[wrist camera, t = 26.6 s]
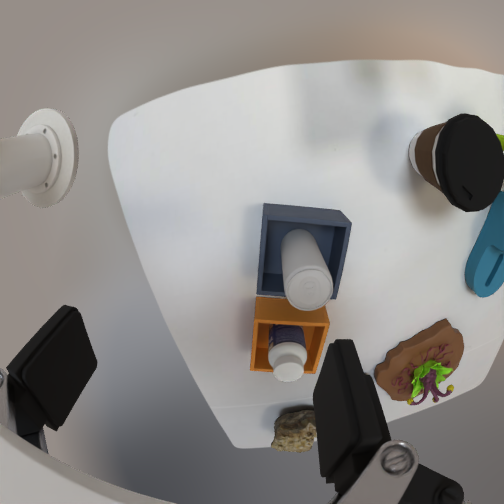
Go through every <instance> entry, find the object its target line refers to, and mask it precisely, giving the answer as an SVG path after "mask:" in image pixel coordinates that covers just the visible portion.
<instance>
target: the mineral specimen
mask: <svg viewBox="0 0 504 504" xmlns="http://www.w3.org/2000/svg"><path fill="white" fill-rule="evenodd" d="M274 424H275V426H274V428H275V431H274V432H275V436H274V440H273V442H272V443H271V447H272V448H275V449H276V450H277V451H283V450H284V451H289V452H290V451H292V452H294V451H296V452H305V451H309V450H310V449H311V447H312V445H313V442H314V437H317V435H316V432H317V431H316V422H315V413H314V411H313V410H302V411H300V412H295V413H287V414H286V415H283V416H282V417H279V418H278V420H277V421H275V423H274Z"/></svg>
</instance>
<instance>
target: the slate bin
mask: <svg viewBox="0 0 504 504" xmlns="http://www.w3.org/2000/svg"><path fill="white" fill-rule="evenodd" d="M351 225H352V223H351V222H350V221H349V219H348V218H347V217H346V216H345V215H344V214H343V213H342V212H341V211H340V210H331V209H321V208H312V207H302V206H291V205H280V204H267V203H264V204H263V216H262V229H261V242H260V255H259V268H258V280H257V293H256V294H258V295H271V296H284V297H286V295H285V291H284V282H283V271H282V259H281V243H282V240H283V238H284V237H285V235H286V234H287V233H288V232H290V231H292V230H295V229H303V230H307V231H308V232H310V233H311V234H312V236H313V237H314V239H315V240H316V243H317V245H318V247H319V250H320V252H321V254H322V257H323V259H324V261H325V263H326V265H327V268H328V270H329V272H330V275H331V277H332V281H333V293H332V296H331V298H330V299H336V297H337V293H338V289H339V285H340V280H341V276H342V271H343V266H344V262H345V257H346V252H347V247H348V242H349V236H350V231H351Z"/></svg>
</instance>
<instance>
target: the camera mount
mask: <svg viewBox="0 0 504 504" xmlns="http://www.w3.org/2000/svg"><path fill="white" fill-rule="evenodd" d="M465 280H466V283H467V285H468V286H469V287H470V288H471V289H472V290H473V291H474V292H475V293H476V294H477V295H478V296H479V297H488V296H490V295H492V294H493V293H495V292H496V291H497V290H498V289H499V288H500V286H501V285H502V284H503V282H504V192H503V191H500V192H499V194H498V195H497V197H496V199H495V200H494V202H493V203H492V206H491V209H490V211H489V214H488V216H487V219H486V221H485V223H484V226H483V228H482V230H481V233H480V235H479V237H478V239H477V241H476V243H475V246H474V248H473V250H472V252H471V254H470V256H469V258H468V261H467V264H466V269H465Z"/></svg>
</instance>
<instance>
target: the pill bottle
mask: <svg viewBox="0 0 504 504" xmlns="http://www.w3.org/2000/svg"><path fill="white" fill-rule="evenodd" d="M268 360H269V363H270V365H271V366H272V367H273V374H274V376H275V378H276V379H278V380H280V381H283V382H293V381H296V380H298V379H300V378H301V377H302V375H303V373H304V364H305V363H306V360H307V351H306V344H305V337H304V330H303V326H301V325H283V324H270V326H269V341H268Z"/></svg>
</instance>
